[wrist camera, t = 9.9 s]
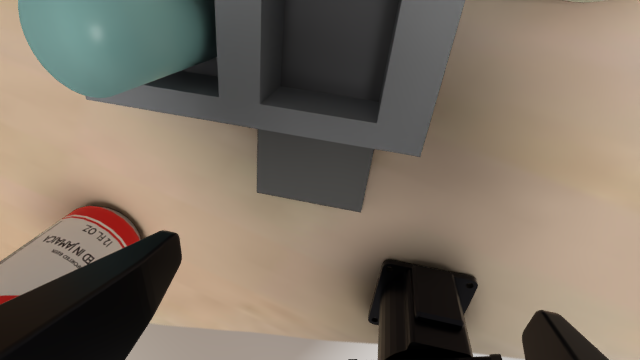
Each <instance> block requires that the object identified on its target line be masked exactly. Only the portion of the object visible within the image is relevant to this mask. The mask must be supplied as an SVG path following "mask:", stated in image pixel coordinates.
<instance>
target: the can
mask: <svg viewBox="0 0 640 360" xmlns="http://www.w3.org/2000/svg"><path fill="white" fill-rule="evenodd" d="M565 1H570V2H599V1H606V0H565Z"/></svg>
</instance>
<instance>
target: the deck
mask: <svg viewBox="0 0 640 360" xmlns="http://www.w3.org/2000/svg"><path fill="white" fill-rule="evenodd" d="M373 151H374V149H371V148H366V147H360V146H354V145H348V144H342V143H337V142H331V141H325V140H319V139H313V138H307V137H302V136H296V135H290V134H284V133H278V132H273V131H267V130H261V129H258V146H257V193H262V194H267V195H273V196H278V197H283V198H288V199H293V200H299V201H304V202H309V203H314V204H319V205H325V206H330V207H335V208H340V209H345V210H351V211H356V212H361V209H362V204H363V200H364V195H365V190H366V185H367V180H368V176H369V171H370V166H371V161H372V156H373Z"/></svg>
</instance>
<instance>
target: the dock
mask: <svg viewBox="0 0 640 360" xmlns="http://www.w3.org/2000/svg"><path fill="white" fill-rule="evenodd" d="M464 3H465V0H215V20H216V42H217V57H216V58H214V59H211V60H208V61H206V62H203V63H200V64H197V65H195V66H192V67H189V68H187V69H184V70H181V71H179V72H176V73H173V74H171V75H168V76H165V77H163V78H160V79H157V80H155V81H152V82H149V83H146V84H144V85H141V86H138V87H136V88H133V89H130V90H128V91H125V92H122V93H120V94H117V95H114V96H111V97H106V98H95V97H89V96H86V99H87V100H93V101H98V102H104V103H110V104H116V105H122V106H127V107H133V108H139V109H145V110H151V111H156V112H162V113H168V114H174V115H180V116H185V117H191V118H197V119H203V120H209V121H215V122H220V123H226V124H232V125H238V126H244V127H249V128H255V129H261V130H267V131H273V132H278V133H284V134H290V135H296V136H302V137H307V138H313V139H319V140H325V141H331V142H337V143H342V144H348V145H354V146H360V147H366V148H371V149H377V150H383V151H389V152H395V153H400V154H406V155H412V156H418V157H420V156H421V152H422V149H423V145H424V142H425V138H426V135H427V131H428V128H429V124H430V121H431V117H432V114H433V110H434V107H435V104H436V100H437V97H438V93H439V90H440V86H441V83H442V79H443V76H444V72H445V69H446V65H447V62H448V58H449V55H450V51H451V48H452V44H453V41H454V37H455V34H456V30H457V27H458V23H459V20H460V17H461V13H462V10H463V6H464Z"/></svg>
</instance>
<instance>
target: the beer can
mask: <svg viewBox="0 0 640 360" xmlns="http://www.w3.org/2000/svg"><path fill="white" fill-rule="evenodd" d="M139 240H141V238H140V235H139V232H138V230H137V229H136V227H135V226H134V224H133V223H132V222H131V221H130V220H129V219H128V218H127V217H125V216H124V215H122V214H121V213H119V212H117V211H115V210H112V209H110V208H104V207H97V206H86V207H81V208H78V209H76V210H74V211H73V212H71V213H70V214H68V215H67V216H65V217H64V218H62V219H61V220H60V221H58V222H57V223H55V224H54V225H52V226H51V227H49V228H48V229H47V230H45V231H44V232H42V233H41V234H39V235H38V236H36V237H35V238H34V239H32V240H31V241H29V242H28V243H26V244H25V245H23V246H22V247H20V248H19V249H18V250H16V251H15V252H13V253H12V254H10V255H9V256H7V257H6V258H5V259H3V260H2V261H0V304H2V303H4V302H6V301H9V300H11V299H13V298H15V297H17V296H20V295H22V294H24V293H26V292H28V291H30V290H33V289H35V288H37V287H39V286H41V285H44V284H46V283H48V282H50V281H52V280H54V279H57V278H59V277H61V276H63V275H65V274H68V273H70V272H72V271H74V270H76V269H78V268H81V267H83V266H85V265H87V264H89V263H92V262H94V261H96V260H98V259H100V258H102V257H105V256H107V255H109V254H111V253H113V252H115V251H118V250H120V249H122V248H124V247H126V246H129V245H131V244H133V243H135V242H137V241H139Z"/></svg>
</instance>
